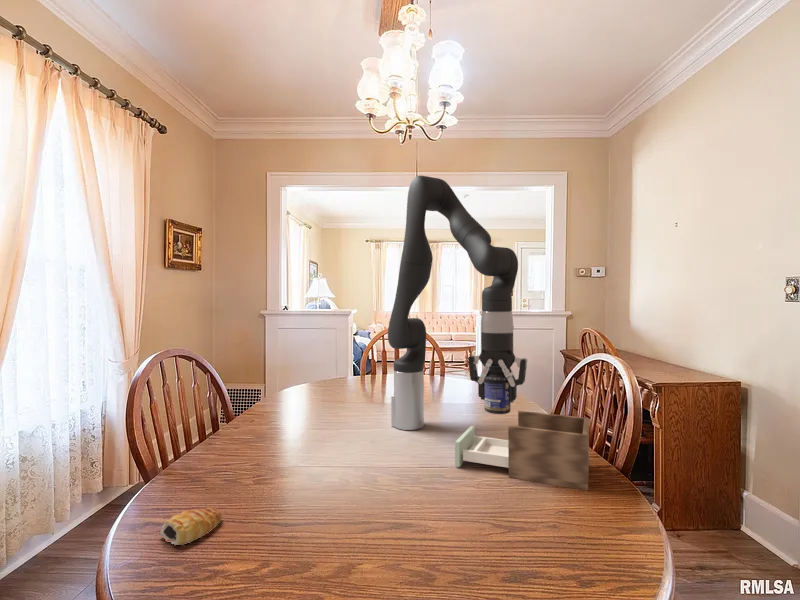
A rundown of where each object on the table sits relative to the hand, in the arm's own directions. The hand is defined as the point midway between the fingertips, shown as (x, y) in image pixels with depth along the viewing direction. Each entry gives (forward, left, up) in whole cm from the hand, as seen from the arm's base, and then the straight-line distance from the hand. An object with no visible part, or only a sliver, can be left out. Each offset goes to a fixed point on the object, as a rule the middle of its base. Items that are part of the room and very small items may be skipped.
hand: (497, 400), depth 101 cm
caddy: (+12, 0, -15) cm, 19 cm away
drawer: (0, 0, -15) cm, 15 cm away
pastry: (-42, -51, -16) cm, 68 cm away
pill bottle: (0, 0, -3) cm, 3 cm away
